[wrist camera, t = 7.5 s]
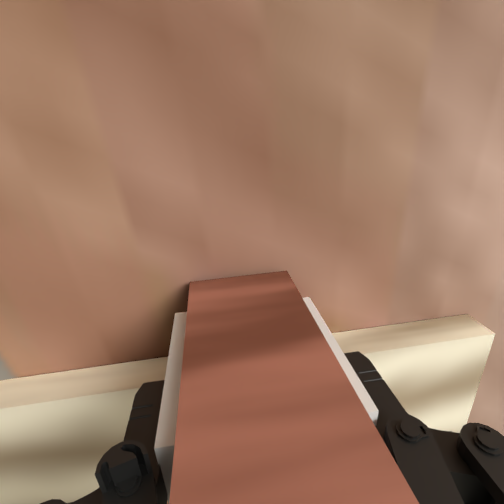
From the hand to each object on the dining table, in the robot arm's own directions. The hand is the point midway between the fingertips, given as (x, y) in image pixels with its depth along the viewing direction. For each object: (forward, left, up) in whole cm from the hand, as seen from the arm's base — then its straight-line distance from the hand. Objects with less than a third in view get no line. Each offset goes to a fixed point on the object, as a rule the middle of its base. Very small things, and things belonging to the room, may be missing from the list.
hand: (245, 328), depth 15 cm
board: (+7, -1, -2) cm, 7 cm away
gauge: (+5, 0, -1) cm, 5 cm away
